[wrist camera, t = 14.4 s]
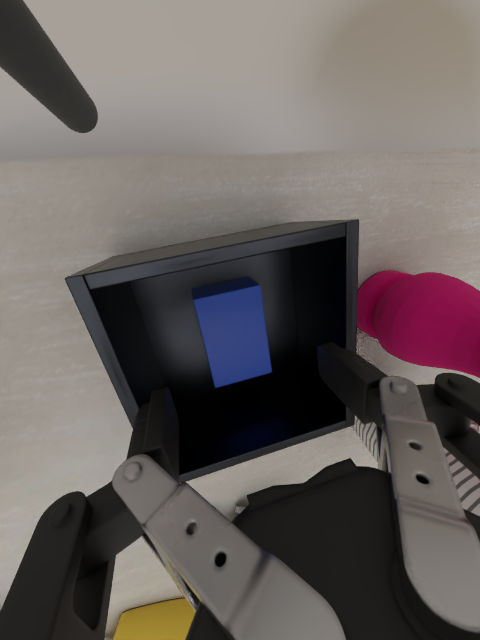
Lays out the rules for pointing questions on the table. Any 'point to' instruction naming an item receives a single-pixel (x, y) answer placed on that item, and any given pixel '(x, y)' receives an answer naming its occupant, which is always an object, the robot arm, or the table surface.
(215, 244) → the black open box
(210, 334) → the blue rectangular block
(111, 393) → the table surface
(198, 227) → the table surface
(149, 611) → the teapot
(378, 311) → the pepper mill
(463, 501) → the cup
